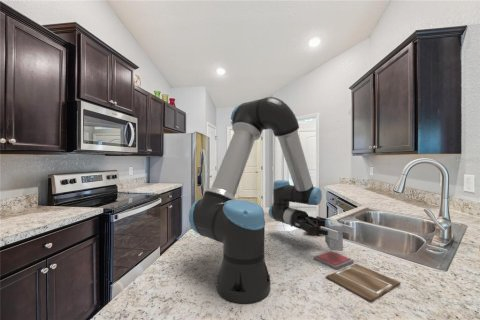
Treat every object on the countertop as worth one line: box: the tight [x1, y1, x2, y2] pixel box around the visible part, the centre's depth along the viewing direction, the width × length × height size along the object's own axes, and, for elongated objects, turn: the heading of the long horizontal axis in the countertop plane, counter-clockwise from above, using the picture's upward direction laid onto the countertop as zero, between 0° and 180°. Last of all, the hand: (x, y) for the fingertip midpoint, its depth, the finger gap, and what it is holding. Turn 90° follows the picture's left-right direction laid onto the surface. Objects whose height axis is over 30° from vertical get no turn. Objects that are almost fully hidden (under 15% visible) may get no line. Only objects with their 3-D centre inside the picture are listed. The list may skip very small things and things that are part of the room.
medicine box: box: [324, 219, 344, 252], centre depth 75 cm, size 8×4×9 cm, turn 168°
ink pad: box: [312, 250, 354, 271], centre depth 75 cm, size 10×9×1 cm
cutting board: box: [325, 263, 401, 303], centre depth 62 cm, size 16×13×1 cm
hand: (345, 233), depth 71 cm, fingers closed on medicine box, 8 cm apart
